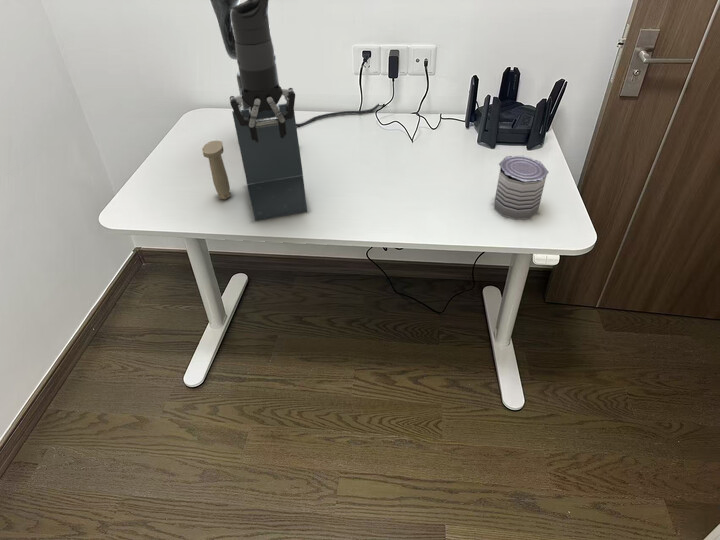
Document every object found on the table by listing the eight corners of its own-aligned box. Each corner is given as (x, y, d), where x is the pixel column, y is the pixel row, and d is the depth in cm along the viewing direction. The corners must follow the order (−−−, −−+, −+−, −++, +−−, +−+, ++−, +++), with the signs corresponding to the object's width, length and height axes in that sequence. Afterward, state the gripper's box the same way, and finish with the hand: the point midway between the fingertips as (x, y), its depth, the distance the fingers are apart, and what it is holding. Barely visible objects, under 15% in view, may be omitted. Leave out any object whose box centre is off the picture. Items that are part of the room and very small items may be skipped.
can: (501, 190, 140) (508, 150, 132) (544, 201, 136) (554, 160, 128) (486, 212, 133) (493, 171, 125) (530, 225, 129) (540, 183, 121)
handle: (236, 190, 144) (225, 141, 134) (229, 203, 140) (217, 153, 130) (219, 189, 145) (207, 140, 135) (212, 203, 140) (199, 153, 130)
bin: (248, 186, 146) (240, 151, 138) (296, 178, 148) (291, 143, 141) (254, 221, 134) (247, 185, 126) (307, 211, 136) (302, 175, 129)
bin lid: (232, 110, 116) (233, 118, 112) (292, 102, 119) (296, 109, 114) (246, 182, 126) (248, 192, 122) (302, 173, 129) (306, 182, 124)
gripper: (289, 50, 109) (298, 126, 120) (219, 59, 106) (235, 135, 118) (295, 64, 103) (304, 141, 115) (221, 73, 101) (238, 152, 112)
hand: (269, 138), depth 116 cm, fingers closed on bin lid, 5 cm apart
